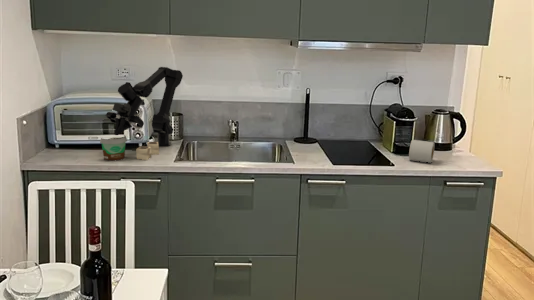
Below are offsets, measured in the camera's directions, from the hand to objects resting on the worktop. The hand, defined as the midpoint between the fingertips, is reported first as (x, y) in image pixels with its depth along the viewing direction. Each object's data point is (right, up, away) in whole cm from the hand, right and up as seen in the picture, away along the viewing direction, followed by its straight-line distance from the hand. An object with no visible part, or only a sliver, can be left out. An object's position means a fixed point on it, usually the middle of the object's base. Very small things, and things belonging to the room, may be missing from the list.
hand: (115, 134), depth 234 cm
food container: (0, -11, +3) cm, 12 cm away
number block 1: (+11, -11, +6) cm, 17 cm away
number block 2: (+14, -9, +15) cm, 22 cm away
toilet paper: (+142, -13, +16) cm, 143 cm away
